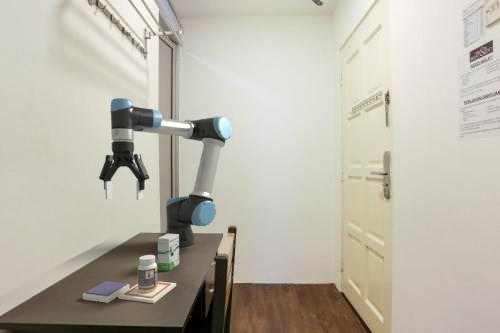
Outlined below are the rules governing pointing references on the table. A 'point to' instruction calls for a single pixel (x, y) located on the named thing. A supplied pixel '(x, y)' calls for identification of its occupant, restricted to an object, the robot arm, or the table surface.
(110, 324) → the table surface
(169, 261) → the ink box
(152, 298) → the print card
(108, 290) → the ink pad
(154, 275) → the pill bottle
